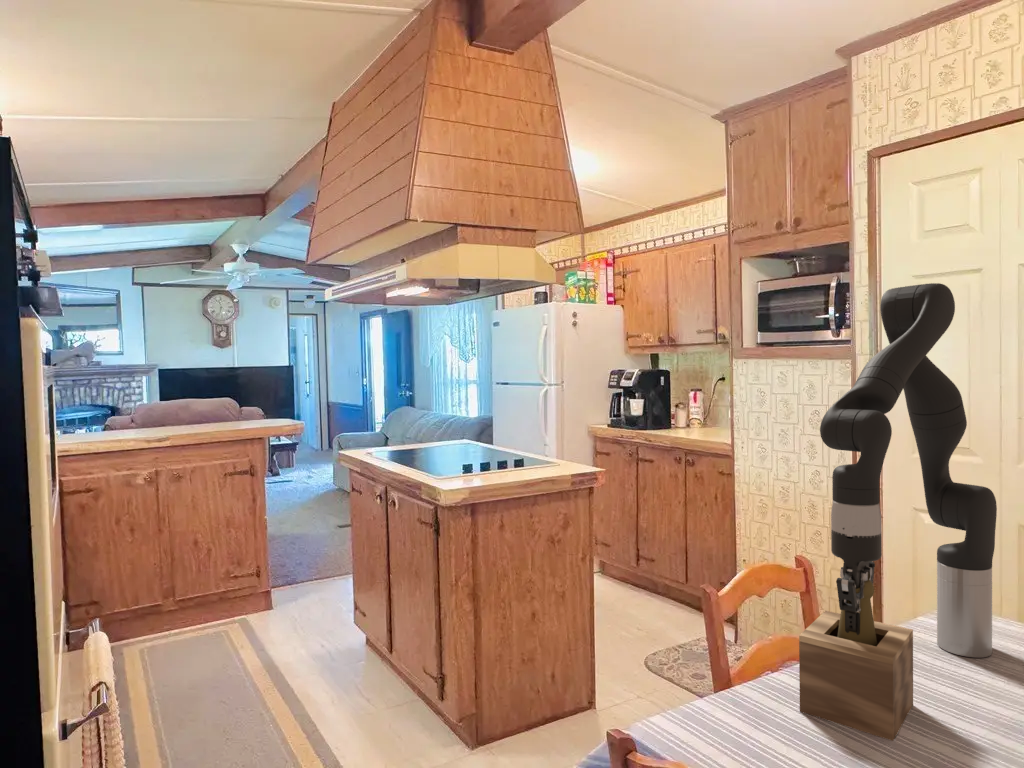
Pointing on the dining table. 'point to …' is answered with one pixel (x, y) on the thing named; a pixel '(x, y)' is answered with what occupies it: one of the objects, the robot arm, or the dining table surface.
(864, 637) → the olive pawn
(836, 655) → the walnut box
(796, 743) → the dining table surface
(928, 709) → the dining table surface
